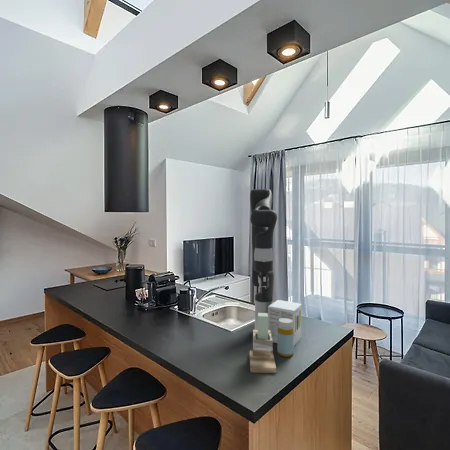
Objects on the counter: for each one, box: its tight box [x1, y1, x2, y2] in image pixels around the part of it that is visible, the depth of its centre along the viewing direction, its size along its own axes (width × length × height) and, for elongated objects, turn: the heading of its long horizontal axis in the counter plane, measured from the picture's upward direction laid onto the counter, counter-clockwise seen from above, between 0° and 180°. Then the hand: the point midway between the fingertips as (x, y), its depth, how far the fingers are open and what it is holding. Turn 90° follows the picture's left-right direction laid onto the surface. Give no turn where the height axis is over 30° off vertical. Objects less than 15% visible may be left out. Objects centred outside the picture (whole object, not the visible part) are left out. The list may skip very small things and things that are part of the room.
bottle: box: [276, 318, 295, 358], centre depth 127 cm, size 7×7×15 cm
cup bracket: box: [249, 329, 277, 374], centre depth 119 cm, size 14×10×12 cm
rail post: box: [258, 313, 268, 340], centre depth 117 cm, size 4×4×12 cm
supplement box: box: [268, 299, 303, 347], centre depth 142 cm, size 13×13×18 cm
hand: (263, 298), depth 117 cm, fingers open, 8 cm apart
